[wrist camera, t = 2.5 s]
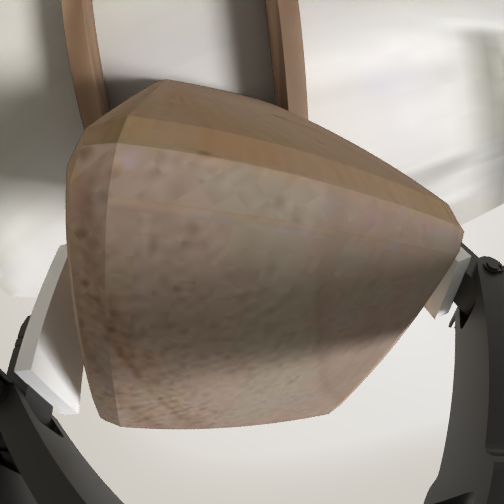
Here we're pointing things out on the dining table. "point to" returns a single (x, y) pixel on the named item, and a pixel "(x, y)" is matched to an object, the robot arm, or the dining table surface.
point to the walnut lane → (91, 76)
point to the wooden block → (239, 260)
